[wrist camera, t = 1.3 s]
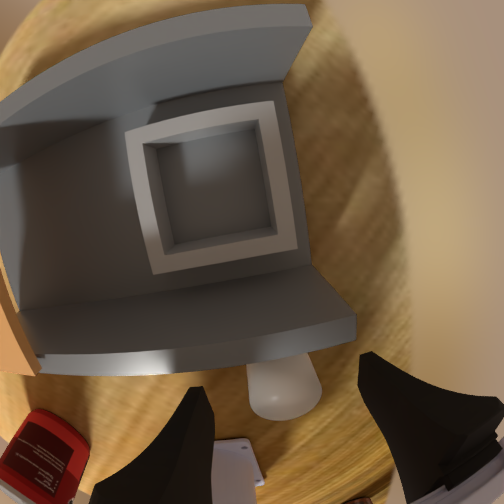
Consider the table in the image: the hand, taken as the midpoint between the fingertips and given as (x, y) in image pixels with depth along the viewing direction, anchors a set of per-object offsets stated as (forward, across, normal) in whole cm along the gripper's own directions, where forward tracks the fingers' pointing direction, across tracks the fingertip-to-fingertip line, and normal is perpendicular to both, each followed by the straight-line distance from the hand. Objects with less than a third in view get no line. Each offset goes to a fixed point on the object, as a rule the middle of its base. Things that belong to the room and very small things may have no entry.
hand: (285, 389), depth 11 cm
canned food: (+5, +23, +10) cm, 26 cm away
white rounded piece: (+4, 0, 0) cm, 5 cm away
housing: (+4, +7, -9) cm, 12 cm away
